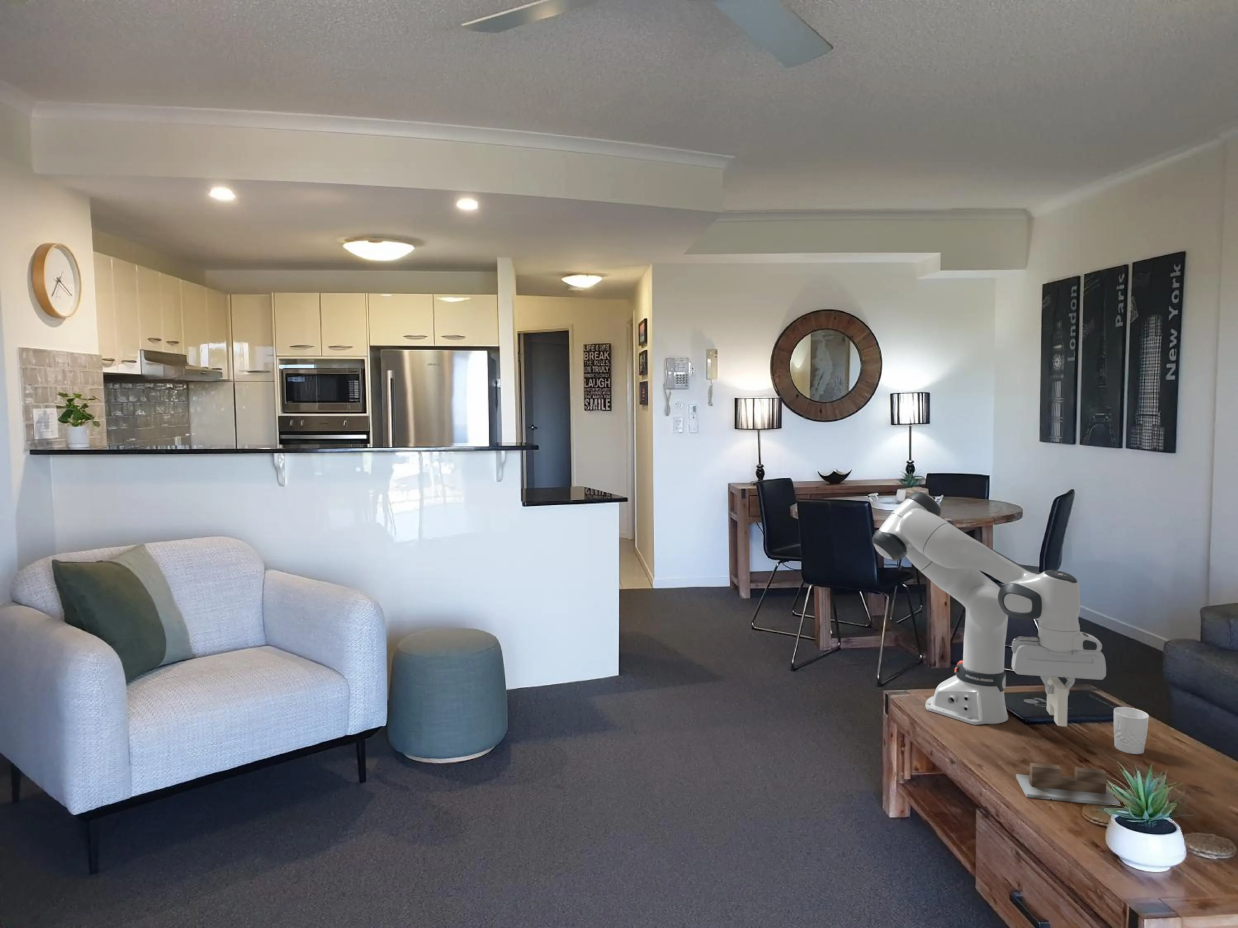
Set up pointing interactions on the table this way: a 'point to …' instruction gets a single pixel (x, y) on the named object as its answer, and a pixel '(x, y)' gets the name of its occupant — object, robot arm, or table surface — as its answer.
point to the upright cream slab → (1058, 701)
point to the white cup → (1130, 729)
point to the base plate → (1067, 785)
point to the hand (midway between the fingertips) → (1057, 693)
